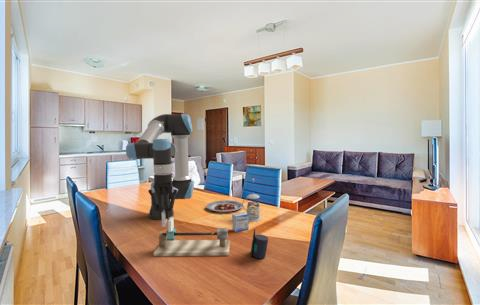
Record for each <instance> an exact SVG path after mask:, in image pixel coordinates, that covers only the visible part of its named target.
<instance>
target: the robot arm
mask: <svg viewBox="0 0 480 305" xmlns="http://www.w3.org/2000/svg"><path fill="white" fill-rule="evenodd" d="M191 133H192V134H193V124H192V118H191V116H190V115H189V114H186V113H171V114H170V113H169V114H167V113H164V114H160V115H158V116H155V117H154V118H152V119H151V120H150V121H149V122H148V124H147V128H146V129H145V130H144V132H143V133H142V134H141V136H140V137H139V138H138V139H137V141H136V142H130V143H127V145H126V147H125V154H126V157H127V158H128V159H130V160H143V159H144V160H145V159H148V160H150V159H152V160H153V161H152V162H153V173H154V174H153V181H152V182H150V183H151V184H150V189H148V193H149V195H150V199H151V201H150V202H151V204H150V209H149V212H148V217H149V219H151V220H161V228H166V227H168V220H169V219H170V218H171V217H173V216H174V212H175V211H174V206H175V201H176V200H190V199H191V198H192V197H193V193H194V186H195V185H194V184H195V181H194V180H192V177H191V176H190V172H189V170H190V169H189V165H190V164H189V137H191ZM162 134H170V136H171V137H172V138H173V142H171V139H169V138H159V136H161V135H162ZM172 158H174V177H173V174H172V171H173V170H172V169H173V168H172ZM172 177H173V178H172Z"/></svg>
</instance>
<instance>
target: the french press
mask: <svg viewBox="0 0 480 305" xmlns="http://www.w3.org/2000/svg"><path fill="white" fill-rule="evenodd" d="M251 181H252V182H254V181H256V180H255V178H251ZM257 199H260V195H259V194H256V193H250V194H248V195H247V196H246V198H244V200H242V202H241V203H242V206H243V207H242V209H244V210H245V211H246V213H247V214H248V221H249V222H259V221H261V220H262V217H261V216H260V214H261V213H260V212H261V206H260V202H258V201H254V200H257ZM248 200H252V201H249V202H248ZM245 201H247V205H246V208H245V206H244V202H245Z"/></svg>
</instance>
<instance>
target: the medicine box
mask: <svg viewBox="0 0 480 305" xmlns="http://www.w3.org/2000/svg"><path fill="white" fill-rule="evenodd" d="M231 218H232V219H231V222H232V226H231V227H232V228H231V229H232V230H233V232H235V233H239V232H240V233H241V232H243V231H244V232H245V231H249V226H250V225H249V222H250V221H248V214H247V212H239V213H233V214H231Z"/></svg>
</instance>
